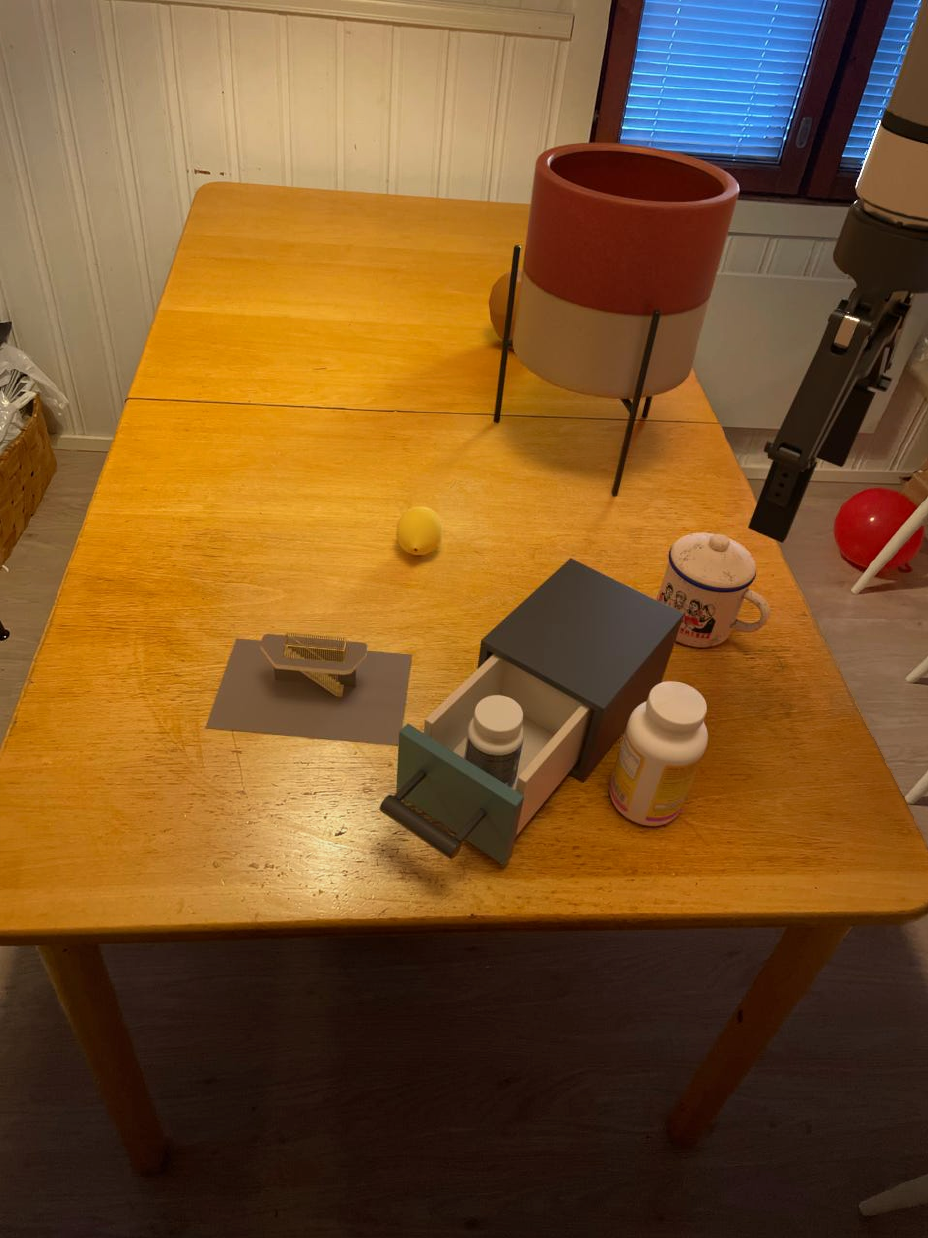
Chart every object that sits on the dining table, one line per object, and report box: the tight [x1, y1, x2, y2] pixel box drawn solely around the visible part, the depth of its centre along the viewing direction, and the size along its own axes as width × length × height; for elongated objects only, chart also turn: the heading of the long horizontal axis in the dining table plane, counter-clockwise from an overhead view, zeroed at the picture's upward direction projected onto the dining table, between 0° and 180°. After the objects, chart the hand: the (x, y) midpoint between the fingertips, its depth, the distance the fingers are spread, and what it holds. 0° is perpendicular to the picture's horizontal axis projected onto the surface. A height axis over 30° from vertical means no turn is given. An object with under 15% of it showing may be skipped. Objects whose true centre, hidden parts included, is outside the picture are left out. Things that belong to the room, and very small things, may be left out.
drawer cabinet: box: [476, 557, 684, 783], centre depth 84 cm, size 16×13×10 cm
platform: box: [204, 631, 413, 746], centre depth 83 cm, size 12×18×7 cm, turn 87°
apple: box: [488, 268, 523, 351], centre depth 142 cm, size 13×13×11 cm
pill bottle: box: [464, 695, 524, 788], centre depth 74 cm, size 5×5×8 cm
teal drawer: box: [379, 654, 595, 866], centre depth 74 cm, size 19×11×8 cm, turn 144°
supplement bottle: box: [608, 680, 709, 827], centre depth 75 cm, size 7×7×13 cm
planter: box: [493, 142, 740, 497], centre depth 112 cm, size 24×25×35 cm
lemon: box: [395, 505, 444, 556], centre depth 101 cm, size 7×5×5 cm
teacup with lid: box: [656, 532, 771, 648], centre depth 93 cm, size 12×9×12 cm
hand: (798, 494), depth 69 cm, fingers open, 13 cm apart
